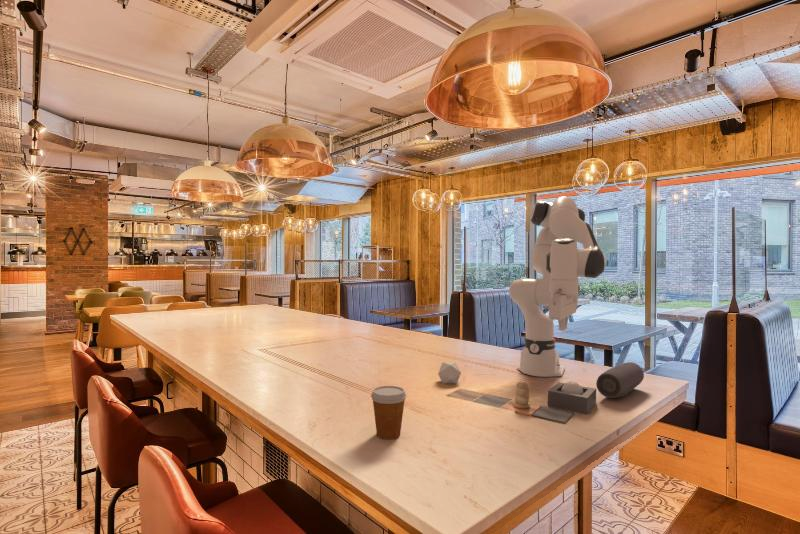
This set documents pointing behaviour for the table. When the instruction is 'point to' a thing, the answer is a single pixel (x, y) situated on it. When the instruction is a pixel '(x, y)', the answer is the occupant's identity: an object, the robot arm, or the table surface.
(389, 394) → the disposable coffee cup
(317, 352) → the table surface
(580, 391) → the pale grey ball
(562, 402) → the housing
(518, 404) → the tan rounded peg
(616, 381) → the bluetooth speaker
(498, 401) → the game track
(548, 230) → the robot arm
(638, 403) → the table surface
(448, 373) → the die
